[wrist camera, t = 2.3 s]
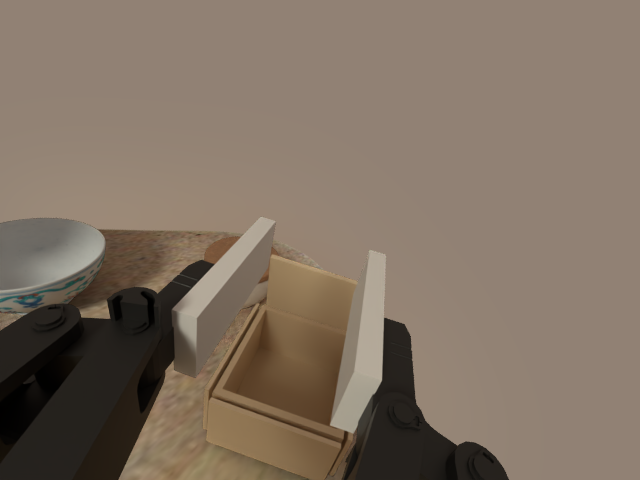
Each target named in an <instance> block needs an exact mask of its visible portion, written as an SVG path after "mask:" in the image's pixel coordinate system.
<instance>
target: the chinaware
mask: <svg viewBox="0 0 640 480" xmlns="http://www.w3.org/2000/svg"><path fill="white" fill-rule="evenodd" d="M105 248H106V242H105V238H104V236H103V234H102V233H101V232H100V231H99V230H98V229H96V228H94V227H93V226H91V225H88V224H86V223H82V222H79V221H74V220H68V219H58V218H33V219H22V220H15V221H8V222H3V223H0V313H16V314H20V315H26V314H28V313H29V312H31V311H33V310H35V309H37V308H40V307H43V306H47V305H51V304H61V303H64V304H68V303H69V302H70V301H71V300H72V299H73V298H74V297H75V296H76V295H78V294H79V293H80V292H82V291H83V290H84V289H85V288H86V287H87V286H88V285H89V284H90V283H91V282H92V281H93V280H94V278H95V277H96V275H97V274H98V272H99V270H100V268H101V265H102V263H103V259H104V255H105Z"/></svg>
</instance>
